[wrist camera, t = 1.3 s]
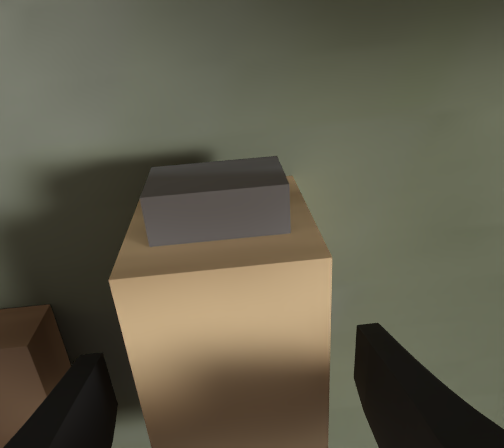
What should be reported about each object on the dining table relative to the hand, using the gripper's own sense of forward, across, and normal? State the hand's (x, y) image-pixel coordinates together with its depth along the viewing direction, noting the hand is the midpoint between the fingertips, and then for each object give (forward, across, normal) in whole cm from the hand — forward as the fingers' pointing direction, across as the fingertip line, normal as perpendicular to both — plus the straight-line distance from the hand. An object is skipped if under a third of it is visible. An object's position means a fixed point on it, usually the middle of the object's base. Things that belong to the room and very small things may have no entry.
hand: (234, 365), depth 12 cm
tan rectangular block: (+3, 0, 0) cm, 3 cm away
